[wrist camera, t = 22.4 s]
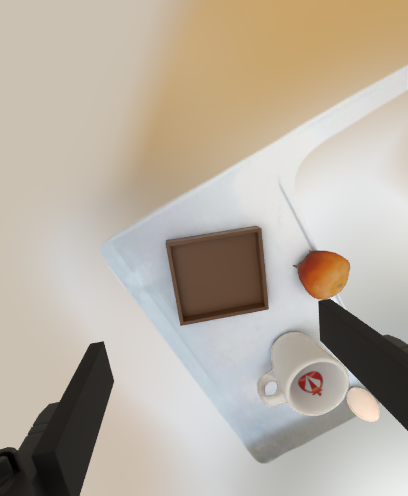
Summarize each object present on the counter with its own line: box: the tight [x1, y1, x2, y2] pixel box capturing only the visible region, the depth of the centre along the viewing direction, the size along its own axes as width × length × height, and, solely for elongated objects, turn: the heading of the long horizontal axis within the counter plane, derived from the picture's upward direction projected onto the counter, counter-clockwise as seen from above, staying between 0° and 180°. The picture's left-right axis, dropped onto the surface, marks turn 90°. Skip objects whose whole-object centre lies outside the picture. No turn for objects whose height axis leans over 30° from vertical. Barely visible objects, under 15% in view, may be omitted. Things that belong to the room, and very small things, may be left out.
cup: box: [257, 332, 349, 416], centre depth 46 cm, size 14×10×10 cm
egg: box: [346, 388, 380, 422], centre depth 51 cm, size 5×5×7 cm
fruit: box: [293, 250, 350, 300], centre depth 44 cm, size 8×8×8 cm
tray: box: [166, 226, 269, 326], centre depth 44 cm, size 15×14×2 cm
